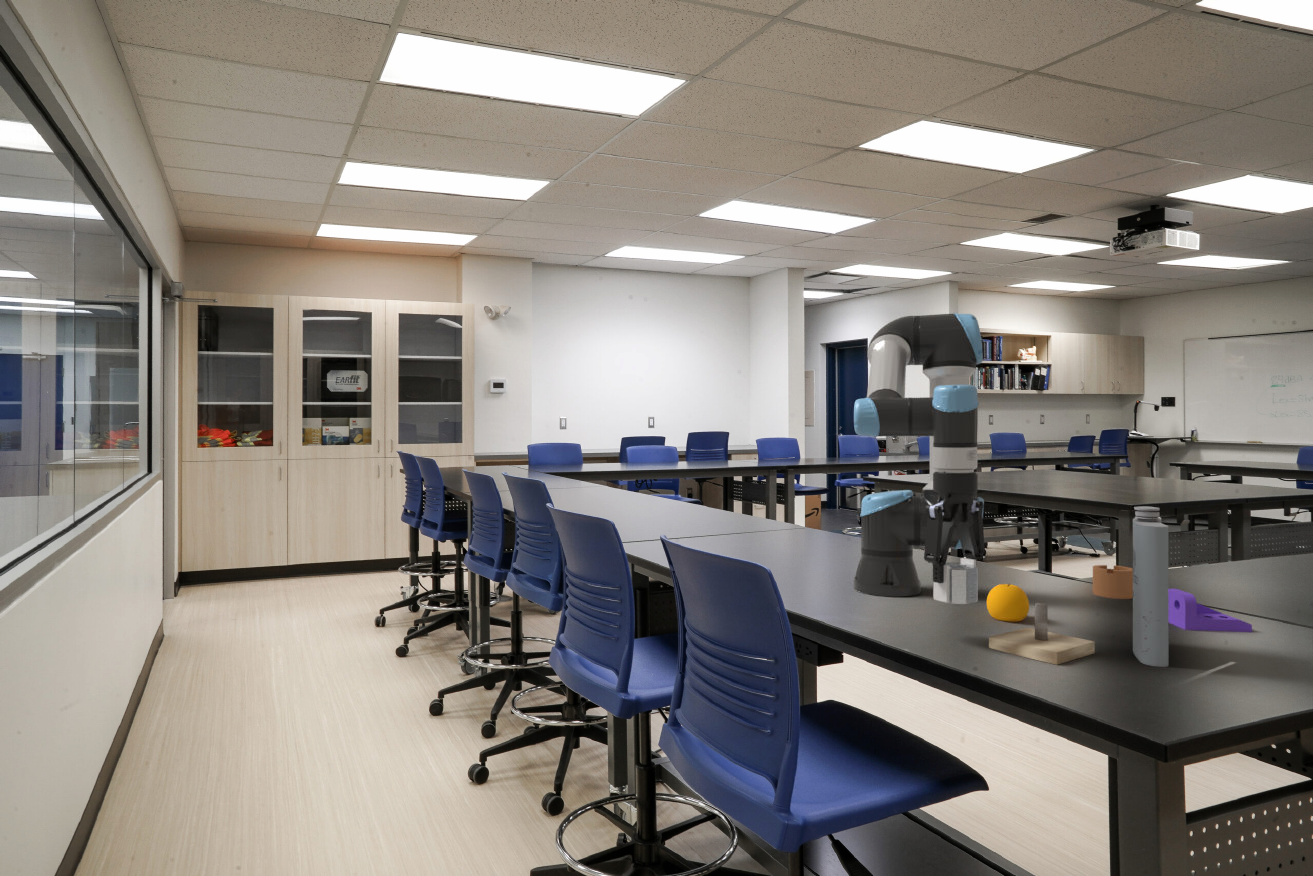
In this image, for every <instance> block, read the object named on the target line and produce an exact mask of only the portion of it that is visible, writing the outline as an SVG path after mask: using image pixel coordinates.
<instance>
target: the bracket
mask: <svg viewBox="0 0 1313 876" xmlns="http://www.w3.org/2000/svg"><path fill="white" fill-rule="evenodd" d="M1168 624H1171V625H1174V626H1175V627H1178V628H1180V629H1182V630H1184V631H1202V632H1203V631H1205V632H1208V631H1209V632H1211V631H1213V632H1234V633H1235V632H1239V633H1244V632H1245V633H1253V624H1251V623H1249V622H1246V621H1244V620H1241V619H1240V618H1239V619H1238V618H1236V617H1234V616H1231V615H1228V614H1225V613H1222V612H1219V610H1218V611H1217V610H1215V609H1213V608H1210V607H1208V606H1205V605H1204V604H1202V603H1198V602H1197V598H1196V597H1195V595H1194V594H1192V593H1190V592H1187V591H1184V590H1181V589H1178V588H1168Z"/></svg>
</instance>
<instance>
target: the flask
mask: <svg viewBox="0 0 1313 876" xmlns="http://www.w3.org/2000/svg"><path fill="white" fill-rule="evenodd" d="M1133 508H1134V510H1135V512H1134V514H1135V516H1134V518H1132V568H1133V598H1132V652H1133V655H1134V656H1135V657H1136V659H1137V660H1138V661H1139V662H1140V663H1142V664H1143V665H1147V666H1151V667H1160V668H1161V667H1162V668H1166V667H1169V622H1168V589H1169V525H1167V524H1164V523H1162V518H1161V517H1160V509H1161V508H1160V507H1156V506H1155V507H1154V506H1134V507H1133Z"/></svg>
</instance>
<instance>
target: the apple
mask: <svg viewBox="0 0 1313 876" xmlns="http://www.w3.org/2000/svg"><path fill="white" fill-rule="evenodd" d="M986 608H987V612H988V613H989V615H990V616H991V617H992V618H993V619H994V620H998V621H1001V622H1008V623H1010V622H1011V623H1016V622H1022V621H1023V620H1025V619H1026V617H1027V616H1028V615H1029V611H1030V602H1029V598H1028V595H1027V594H1026V592H1025V591H1024V590H1023V589H1022V588H1021V587H1019V586H1018V585H1015V584H1011V583H1000V584H997V585H996V586H994V587H992V588H991V589H990V591H989V592H988V595H987V597H986Z"/></svg>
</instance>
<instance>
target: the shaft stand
mask: <svg viewBox="0 0 1313 876" xmlns="http://www.w3.org/2000/svg"><path fill="white" fill-rule="evenodd" d="M1048 609H1049V606H1048V604H1047V603H1041V602H1036V603H1034V628H1031V627H1028V626H1027V627H1025V628H1020V629H1016V630H1012V631H1007V632H1003V633H998V634H995V635H992V636H991V635H990V636H988V649H993V650H997V651H1000V652H1004V653H1008V654H1012V655H1015V656H1018V657H1023V658H1027V659H1031V660H1036V661H1040V662H1043V663H1048V664H1052V665H1056V666H1057V665H1060V664H1063V663H1066V662H1071V661H1074V660H1077V659H1080V658H1083V657H1086V656H1090V655H1093V654H1095V653H1096V652H1095V651H1096V650H1095V649H1096V645H1095V643H1096V642H1095V640H1090V639H1085V638H1080V637H1074V636H1070V635H1064V634H1061V633H1056V632H1051V631H1048V630H1049V629H1048V627H1049V620H1048V619H1049V618H1048V616H1049V614H1048Z"/></svg>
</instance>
